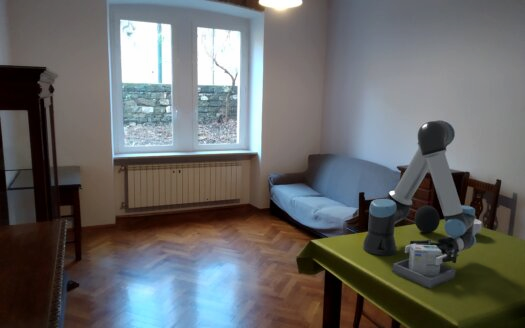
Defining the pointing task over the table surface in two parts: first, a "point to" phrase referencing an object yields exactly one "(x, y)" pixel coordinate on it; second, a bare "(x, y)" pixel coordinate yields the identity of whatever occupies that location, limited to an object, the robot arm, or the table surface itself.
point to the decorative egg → (427, 219)
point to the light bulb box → (424, 259)
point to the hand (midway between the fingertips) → (420, 255)
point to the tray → (424, 280)
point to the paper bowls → (477, 226)
